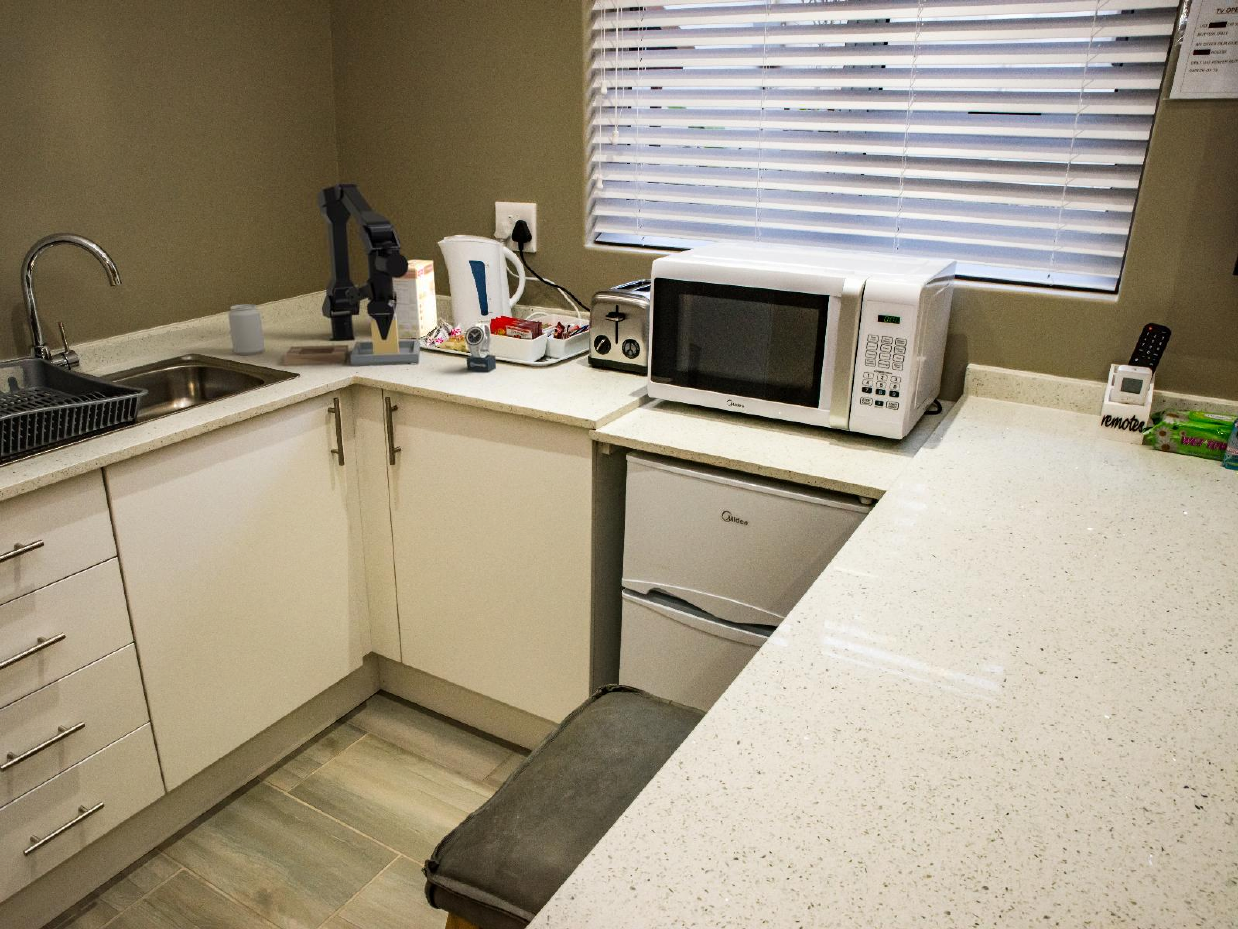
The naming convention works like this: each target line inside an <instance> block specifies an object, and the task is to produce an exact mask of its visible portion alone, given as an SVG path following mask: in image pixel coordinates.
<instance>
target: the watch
mask: <svg viewBox="0 0 1238 929" xmlns="http://www.w3.org/2000/svg"><path fill="white" fill-rule="evenodd" d="M491 336H492V333H491V328H490V326H489V325H488V324H487V323H479V322H476V323H474V324H473V325H471V327H469V328H468V329H467V331H466V333H465V335H464V340H465V343H466V344H467V345H466V346H467V349H468V350H469V352H470V355H469V356H467V357H466V371H467V372H468V371H469V372H478V373H490V372H491V371H494V370H495V369H497V366H496V365H497V364H496V355H492V354H491V355H490V354H489V353H490V350H491V344H492V337H491Z"/></svg>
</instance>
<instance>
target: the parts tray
mask: <svg viewBox="0 0 1238 929" xmlns="http://www.w3.org/2000/svg"><path fill="white" fill-rule="evenodd" d="M398 344H399V353H396V354H374V353H373V341H372V340H371V341H369V340H368V341H356V342H355V344H354V346H353V349H352V351H351V354H350V364H351V367H365V366H366V367H369V366H370V365H373V366H392V365H393V366H395V365H396V364H400V365H408V364H407V363H419V362H420V355H419V354H421V344H420V339H398ZM390 364H391V365H390Z"/></svg>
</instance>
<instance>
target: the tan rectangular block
mask: <svg viewBox="0 0 1238 929" xmlns="http://www.w3.org/2000/svg"><path fill="white" fill-rule="evenodd" d="M369 317H370V329H371V339H372V340H371V341H373V353H374V354H396V353H399V344H398V341H399V339H398V331H397V318H396V312H394V316H393V320H392V323H391V326H390V329H389V333H388V336H387V339H386V340H382V338H381V335H380V332H379V329H378V326H377V323H376V320H375V319H374V318H372V317H371V316H369Z"/></svg>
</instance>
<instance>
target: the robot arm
mask: <svg viewBox="0 0 1238 929" xmlns="http://www.w3.org/2000/svg"><path fill="white" fill-rule="evenodd" d="M316 201H317V202H316V203H317V205H318V207H319V212H320V214H321V216H322V217H323V218H324V220H325V221H326V223H327V233H328V247H329V260H330V272H331V274H330V275H331V276H330V277H331V279H330V280H329V282H328V284H327V285H326V288H325V290H326V291H325V293H326V294H325V297H324V300H323V304H322V307H321V312H322V315H323V317H326V318H328V319H330V327H331V336H330V337H329V341H345V340H346V341H347V340H348V341H351V340H352V341H353V340H355V338H356V337H357V333H356V332H355V331H354V322H353V321H354V320H353V316H359V315H360V308H361V306H360V305H361V301H364V300H366V299H368V300H367V301H368V303H367V304H366V311H367V316H369V317H370V316H371V317H372V318H374V319H375V320H376V323H377V326H378V329H379V332H380V335H381V338H382V340H386V339H387V336H388V333H389V329H390V326H391V323H392V320H393V316H394V313H395V312H396V311H395V308H396V304H397V303H396V302H397V293H396V292H395V291H394V286H393V277H394V278H400V277H403V276H404V275H405V274H406V273H407V271H408V262H407V261H408V260H407V258H406V257H405V255H403V254H401V252H400V250H401V249H402V247H401V241H400V239H399V236H398V234H397V233H396V230H395V228H394V226H393V224H392V223H391V222H390V220H389V219H388V218H387V217H386V216H384V215H383V214H380V213H377V212H376V211H374V209H373V208H372V207H371V205H370V204H369V203H368V201H367V200H366V199H365V197H364V196H363V195H362V193H361V192H360V190H359V186H358V184H356V183H354V182H342V183H341V182H339V183H338V184H337V183H336V184H335V185H333V186H330V187H327V188H321V190H320V191H319V192H318V193H317V196H316ZM351 216H352V218H353V219H354V220H355V222H356V224H357V225H358V232H357V234H358V235H359V238H360V240H361V242H362V243H363V245H364V247H365V248H364V250H363V252H364V253H365V254H366V265H367V275H368V277H367V279H366V282H365V283H362V284H360V285H355V283H354V282H353V280H351V272H350V271H351V269H350V255H349V240H348V222H349V220H350V218H351Z"/></svg>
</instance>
